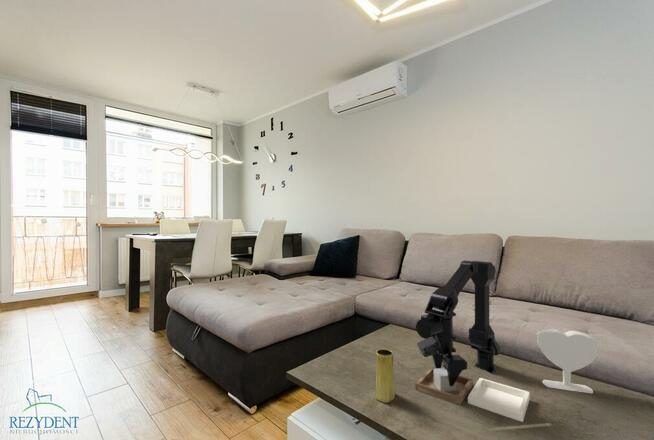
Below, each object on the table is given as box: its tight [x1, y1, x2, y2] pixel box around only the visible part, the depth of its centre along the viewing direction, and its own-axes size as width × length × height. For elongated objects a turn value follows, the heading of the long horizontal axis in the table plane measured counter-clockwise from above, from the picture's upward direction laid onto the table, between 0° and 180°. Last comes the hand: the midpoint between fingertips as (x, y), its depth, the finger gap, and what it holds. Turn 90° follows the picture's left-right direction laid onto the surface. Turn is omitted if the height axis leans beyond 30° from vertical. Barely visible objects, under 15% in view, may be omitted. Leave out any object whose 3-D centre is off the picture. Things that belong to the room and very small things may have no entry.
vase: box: [375, 348, 396, 404], centre depth 97 cm, size 6×6×14 cm
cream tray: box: [467, 377, 531, 423], centre depth 93 cm, size 14×14×2 cm
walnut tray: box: [414, 366, 474, 406], centre depth 101 cm, size 14×14×2 cm
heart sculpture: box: [536, 328, 599, 394], centre depth 101 cm, size 16×5×18 cm, turn 69°
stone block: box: [434, 367, 456, 392], centre depth 101 cm, size 5×5×5 cm
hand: (444, 378), depth 101 cm, fingers open, 9 cm apart
